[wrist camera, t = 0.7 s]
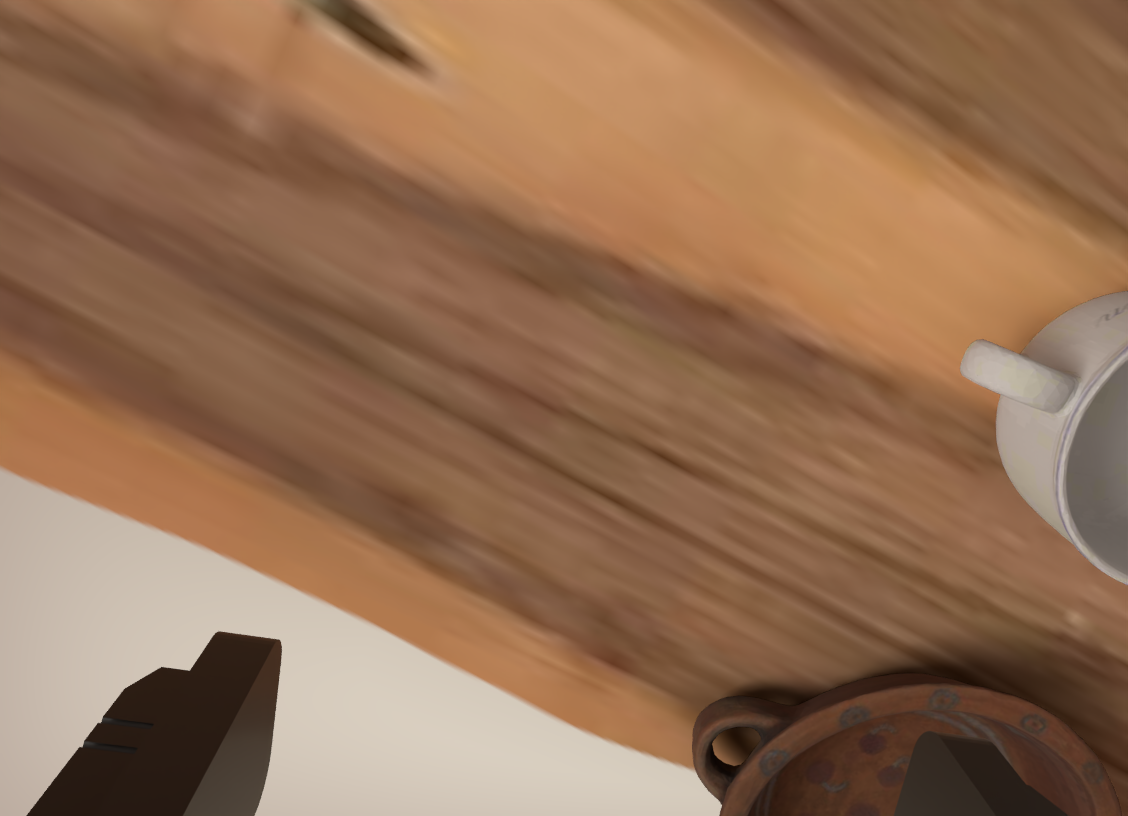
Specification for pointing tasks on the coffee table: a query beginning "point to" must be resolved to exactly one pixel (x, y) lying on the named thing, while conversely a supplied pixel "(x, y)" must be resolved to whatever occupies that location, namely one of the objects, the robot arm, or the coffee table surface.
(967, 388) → the coffee table surface
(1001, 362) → the teacup
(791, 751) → the dish
